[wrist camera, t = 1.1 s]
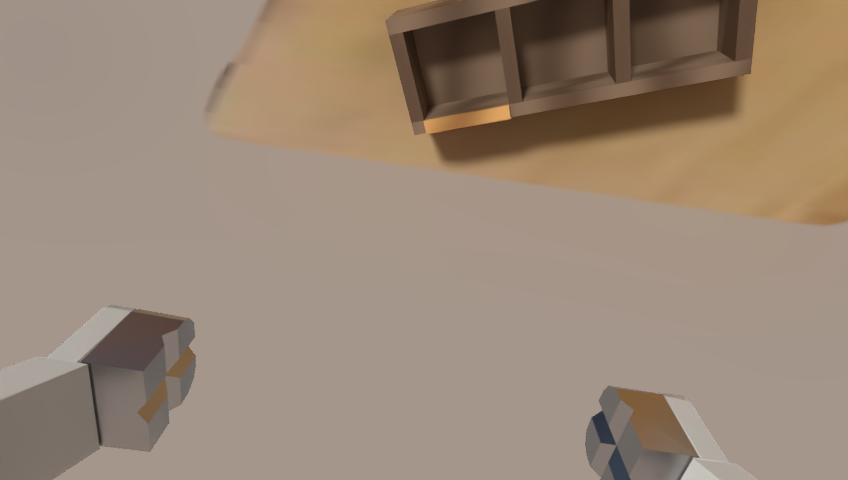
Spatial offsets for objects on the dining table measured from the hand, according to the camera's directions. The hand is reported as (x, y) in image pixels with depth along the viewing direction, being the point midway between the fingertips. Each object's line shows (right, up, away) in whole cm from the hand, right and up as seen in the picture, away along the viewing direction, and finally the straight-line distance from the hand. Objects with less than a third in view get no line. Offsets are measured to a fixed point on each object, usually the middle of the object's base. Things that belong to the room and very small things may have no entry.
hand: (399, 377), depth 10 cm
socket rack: (+11, +18, +28) cm, 35 cm away
